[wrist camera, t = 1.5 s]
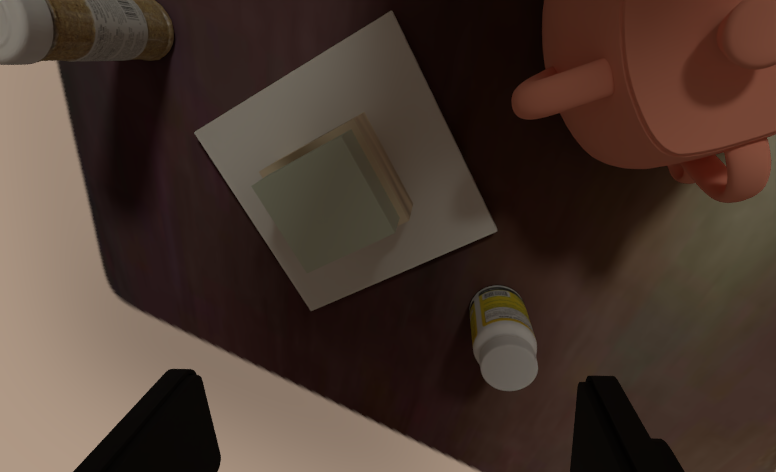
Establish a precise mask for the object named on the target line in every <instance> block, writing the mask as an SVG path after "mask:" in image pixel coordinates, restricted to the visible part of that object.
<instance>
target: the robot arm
mask: <svg viewBox="0 0 776 472" xmlns="http://www.w3.org/2000/svg"><path fill="white" fill-rule="evenodd" d="M220 461H221V455H220V451H219V447H218V443H217V438H216V434H215V430H214V426H213V422H212V418H211V414H210V410H209V406H208V402H207V398H206V394H205V390H204V385H203V381H202V378H201V377H200V376H199V375H196V372H195V371H194V370H191V369H170V370H168V371H167V372H166V373H165V374H164V375H163V376H162V377H161V378H160V379H159V380H158V381H157V382H156V383H155V384H154V386H153V387H152V388H151V389H150V390H149V391H148V392H147V393H146V394H145V395H144V396H143V397H142V398H141V400H139V402H138V403H137V404H136V405H135V406H134V407H133V408H132V409H131V410H130V411H129V412H128V413H127V414H126V416H125V417H124V418H123V419H122V420H121V421H120V422H119V423H118V424H117V425H116V426H115V427H114V428H113V429H112V431H111V432H110V433H109V434H108V435H107V436H106V437H105V438H104V439H103V440H102V441H101V442H100V444H99V445H98V446H97V447H96V448H95V449H94V450H93V451H92V452H91V453H90V454H89V455H88V456H87V457H86V459H85V460H84V461H83V462H82V463H81V464H80V465H79V466H78V467H77V468H76V469H75V470H74V471H73V472H217V471H218V469H219V466H220ZM570 472H684V470H683V468H682V467H681V465H680V463H679V462H678V460H677V458H676V457H675V455H674V453H673V452H672V450H671V449H670V447H669V446H668V444H667V443H666V442H665V441H664V440H662V439H651V438H650V436H649V434H648V433H647V431H646V429H645V427H644V426H643V424H642V422H641V420H640V419H639V417H638V415H637V413H636V412H635V410H634V408H633V406H632V405H631V403H630V401H629V399H628V398H627V396H626V394H625V392H624V391H623V389H622V387H621V385H620V384H619V382H618V380H617V379H616V377H614V376H587V379H586V382H579V384H578V389H577V400H576V412H575V423H574V434H573V445H572V456H571V467H570Z"/></svg>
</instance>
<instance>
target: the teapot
mask: <svg viewBox="0 0 776 472" xmlns="http://www.w3.org/2000/svg"><path fill="white" fill-rule="evenodd" d="M542 44H543V55H544V64H545V70H544V71H542V72H540V73H538V74H536V75H534V76H532V77H530V78H528V79H527V80H525V81H524V82H522V83H521V84H520V85H518V87H517V88H516V89H515V90H514V92H513V94H512V99H511V102H512V108H513V111H514V113H515V114H516V115H517V116H518V117H519V118H522V119H526V120H533V119H539V118H544V117H547V116H551V115H555V114H558V113H560V115H561V116H562V118H563V120H564V122H565V124H566V126H567V127H568V129H569V130H570V132H571V134H572V135H573V137H574V138H575V139H576V141H577V142H578V143H579V144H580V146H581V147H582V148H583V149H584V150H585V151H586V152H587V153H588V154H589V155H591V156H592V157H593V158H595V159H597V160H599V161H601V162H603V163H605V164H608V165H612V166H616V167H620V168H625V169H651V168H656V167H662V166H668V169H669V172H670V174H671V176H672V177H673V179H674V180H676V181H677V182H680V183H686V184H691V183H696V184H697V185H698V186H699V187H700V188H701V189H702V190H703V191H704V192H705V193H706V194H707V195H708V196H710V197H711V198H713V199H714V200H716V201H719V202H724V203H732V202H739V201H743V200H746V199H749V198H751V197H753V196H755V195H756V194H758V193H759V192H760V191H762V189H763V188H764V187H765V185H766V183H767V181H768V178H769V175H770V170H771V155H770V148H769V143H768V140H767V137H770V136H772V135H775V134H776V0H544V4H543V15H542ZM722 152H724V153H725V159H726V165H727V167H726V166H725V165H724V164H723V163H722V161H721V160H720V159H719V158H718V157H717V156H716V155H715V154H719V153H722Z"/></svg>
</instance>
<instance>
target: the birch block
mask: <svg viewBox="0 0 776 472" xmlns="http://www.w3.org/2000/svg"><path fill="white" fill-rule="evenodd" d="M351 129H352V131H353V133H354V135H355V137H356V139H357V140H358V142H359V144H360V146H361V148H362V150H363V151H364V153H365V155H366V157H367V159H368V161H369V162H370V164H371V166H372V168H373V170H374V171H375V173H376V175H377V177H378V179H379V181H380V182H381V184H382V186H383V188H384V190H385V192H386V193H387V195H388V197H389V199H390V201H391V203H392V204H393V206H394V208H395V210H396V212H397V214H398V215H399V217H400V219H399V222H398V225H397V226H399V225H401V224H403V223H405V222H408V221H409V219H410V215H411V211H412V207H413V202H412V201H411V199H410V197H409V195H408V193H407V191H406V189H405V187H404V186H403V184H402V182H401V180H400V178H399V176H398V174H397V172H396V171H395V169H394V167H393V165H392V163H391V161H390V159H389V157H388V155H387V154H386V152H385V150H384V148H383V146H382V144H381V142H380V140H379V139H378V137H377V135H376V133H375V131H374V129H373V127H372V125H371V124H370V122H369V120H368V118H367V116H366V114H365V112H363V113H361V114H360V115H358V116H356V117H354V118H352V119H351V120H349V121H347V122H345V123H344V124H342V125H340V126H338V127H336V128H335V129H333V130H331V131H329V132H327V133H326V134H324V135H322V136H320V137H318V138H317V139H315V140H313V141H311V142H309V143H308V144H306V145H304V146H302V147H300V148H299V149H297V150H295V151H293V152H291V153H290V154H288V155H286V156H284V157H282V158H281V159H279V160H277V161H275V162H274V163H272V164H271V165H269V166H267V167H266V168H264V169H262V170H261V171H259V173H260V175H261V176H262V178H264V177H266V176H267V175H269V174H271V173H272V172H274V171H276V170H278V169H280V168H281V167H283V166H285V165H287V164H289V163H291V162H292V161H294V160H296V159H298V158H300V157H301V156H303V155H305V154H307V153H309V152H311V151H312V150H314V149H316V148H318V147H320V146H321V145H323V144H325V143H327V142H329V141H331V140H332V139H334V138H336V137H338V136H340V135H342V134H343V133H345V132H347V131H349V130H351Z"/></svg>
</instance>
